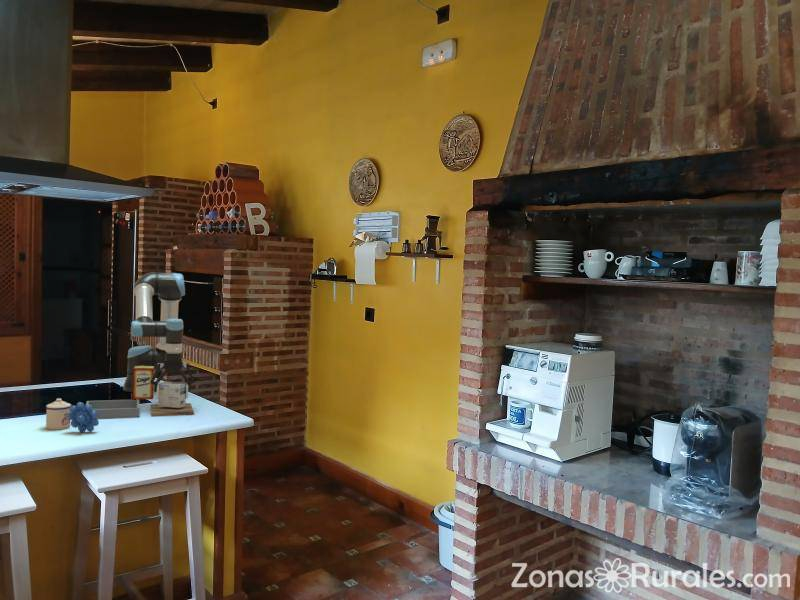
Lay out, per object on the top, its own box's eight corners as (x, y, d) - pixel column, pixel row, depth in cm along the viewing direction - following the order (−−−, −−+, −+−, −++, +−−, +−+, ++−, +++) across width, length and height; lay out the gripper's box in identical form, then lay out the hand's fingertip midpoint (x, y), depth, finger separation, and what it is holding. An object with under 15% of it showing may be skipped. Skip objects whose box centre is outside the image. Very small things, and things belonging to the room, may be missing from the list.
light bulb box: (186, 405, 293) (186, 382, 293) (179, 408, 287) (180, 384, 286) (164, 403, 294) (165, 380, 294) (157, 406, 288) (158, 383, 287)
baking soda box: (153, 396, 320) (154, 365, 319) (152, 399, 314) (153, 367, 313) (133, 396, 317) (134, 365, 316) (132, 399, 311) (133, 367, 310)
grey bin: (86, 409, 285) (87, 400, 285) (139, 407, 294) (139, 399, 294) (83, 419, 268) (83, 410, 268) (139, 417, 276) (139, 408, 276)
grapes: (63, 434, 243) (63, 404, 243) (69, 430, 250) (69, 400, 249) (95, 434, 245) (96, 404, 245) (100, 430, 252) (101, 401, 251)
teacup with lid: (65, 430, 250) (66, 401, 249) (41, 430, 248) (42, 401, 248) (76, 423, 262) (77, 395, 261) (53, 422, 260) (54, 394, 260)
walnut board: (150, 407, 295) (150, 404, 295) (190, 406, 302) (190, 403, 302) (151, 416, 279) (151, 413, 279) (193, 414, 286) (193, 411, 286)
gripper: (145, 353, 281) (143, 401, 282) (201, 353, 291) (200, 399, 292) (145, 351, 288) (143, 397, 289) (200, 351, 298) (198, 396, 299)
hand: (172, 398), depth 290 cm, fingers closed on light bulb box, 12 cm apart
